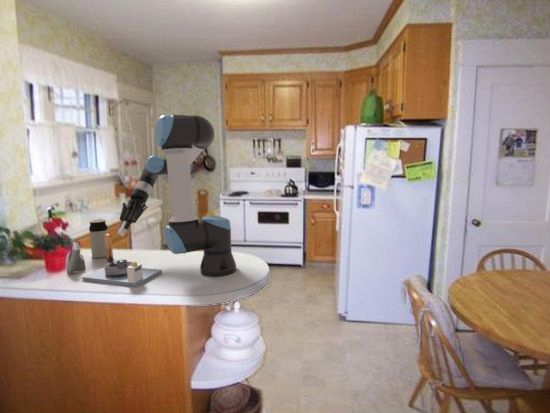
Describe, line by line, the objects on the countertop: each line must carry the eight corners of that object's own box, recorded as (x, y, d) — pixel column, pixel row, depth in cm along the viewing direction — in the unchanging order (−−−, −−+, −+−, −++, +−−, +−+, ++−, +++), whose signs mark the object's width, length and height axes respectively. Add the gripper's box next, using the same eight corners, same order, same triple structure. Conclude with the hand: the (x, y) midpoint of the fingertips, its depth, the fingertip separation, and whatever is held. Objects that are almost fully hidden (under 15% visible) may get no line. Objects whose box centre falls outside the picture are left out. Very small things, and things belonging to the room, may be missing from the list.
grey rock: (67, 264, 174) (65, 242, 172) (89, 262, 177) (86, 240, 175) (60, 276, 159) (57, 251, 157) (84, 273, 161) (81, 249, 160)
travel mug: (112, 255, 186) (109, 219, 183) (96, 259, 181) (92, 222, 178) (105, 252, 192) (102, 217, 189) (89, 256, 186) (85, 220, 183)
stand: (161, 273, 160) (160, 252, 158) (137, 286, 145) (135, 264, 143) (110, 268, 168) (109, 248, 166) (82, 280, 153) (80, 259, 151)
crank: (141, 271, 157) (139, 237, 155) (113, 279, 148) (109, 243, 146) (122, 263, 168) (120, 231, 166) (95, 270, 160) (91, 236, 157)
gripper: (156, 197, 183) (136, 240, 171) (134, 196, 187) (113, 238, 175) (149, 188, 177) (128, 231, 165) (126, 187, 181) (103, 229, 169)
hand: (120, 234), depth 170 cm, fingers closed
